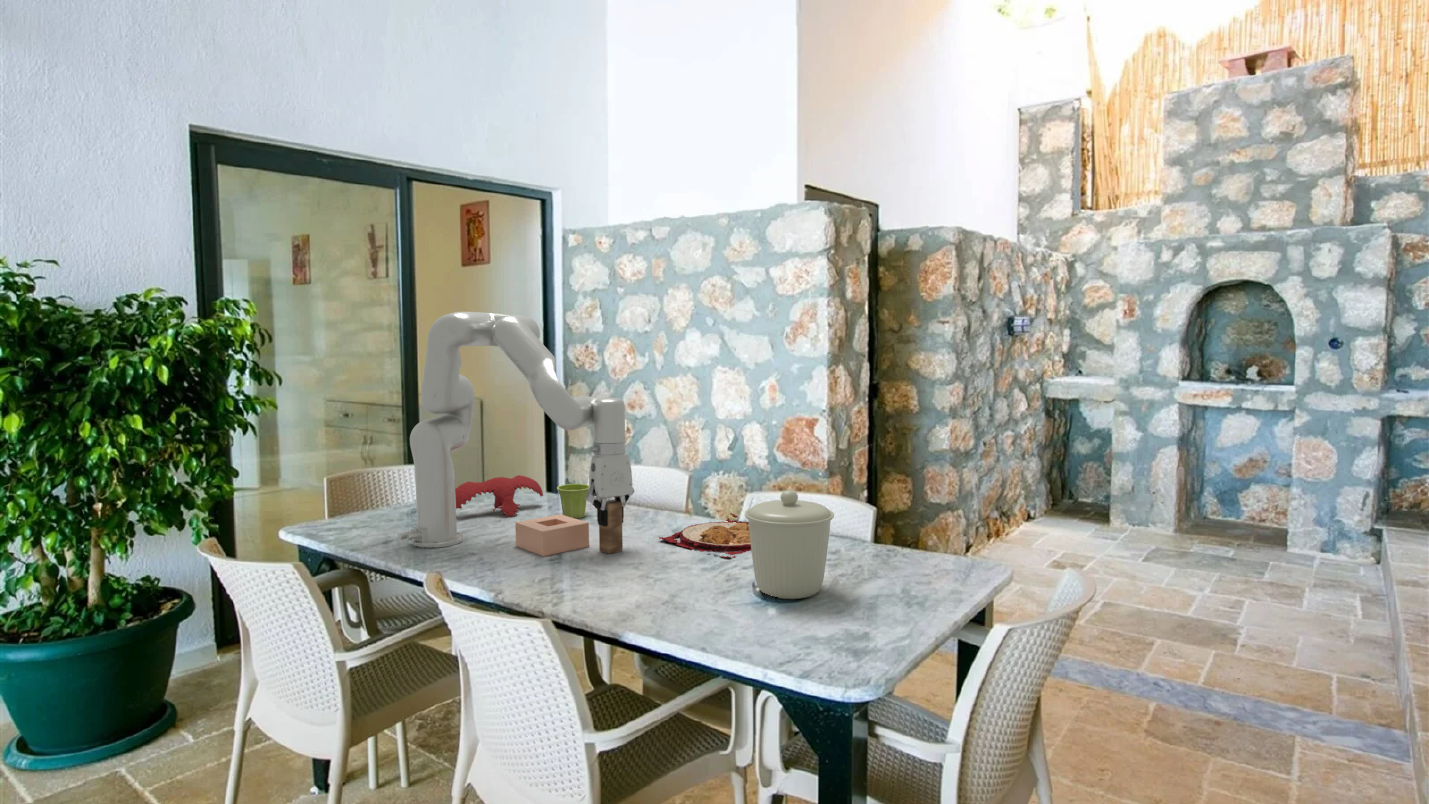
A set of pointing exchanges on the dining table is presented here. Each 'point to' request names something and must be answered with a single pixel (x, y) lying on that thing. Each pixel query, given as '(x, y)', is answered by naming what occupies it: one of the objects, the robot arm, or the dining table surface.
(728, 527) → the plate with food
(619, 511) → the walnut peg
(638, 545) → the dining table surface
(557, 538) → the pink planter box
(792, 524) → the canister
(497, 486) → the decorative bird sculpture
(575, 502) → the plant pot
